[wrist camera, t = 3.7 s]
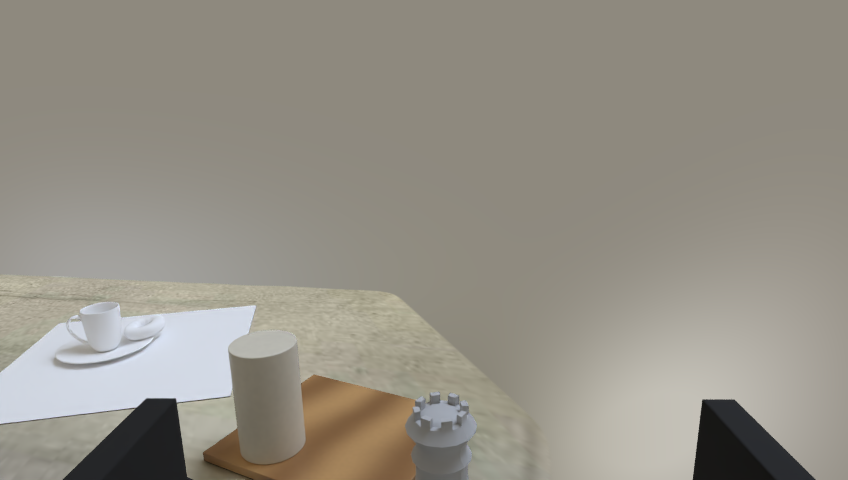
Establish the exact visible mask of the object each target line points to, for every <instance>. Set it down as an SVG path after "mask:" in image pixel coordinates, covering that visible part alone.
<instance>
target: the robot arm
mask: <svg viewBox="0 0 848 480" xmlns="http://www.w3.org/2000/svg"><path fill="white" fill-rule="evenodd" d="M63 480H187V474H186V466H185V459H184V452H183V445H182V438H181V431H180V424H179V417H178V410H177V403H176V398H146V399H145V400H144V401H143V402H142V403H141V404H140V405H139V406H138V407H137V408H136V409H135V410H134V411H133V412H132V413H131V414H130V415H129V416H128V417H127V418H125V419H124V420H123V421H122V422H121V423H120V424H119V425H118V426H117V427H116V428H115V429H114V430H113V431H112V432H111V433H110V434H109V435H108V436H107V437H106V438H105V439H104V440H103V441H102V442H101V443H100V444H99V445H98V446H97V447H96V448H95V449H94V450H93V451H92V452H91V453H90V454H89V455H87V456H86V457H85V458H84V459H83V460H82V461H81V462H80V463H79V464H78V465H77V466H76V467H75V468H74V469H73V470H72V471H71V472H70V473H69V474H68V475H67V476H66V477H65V478H64V479H63ZM693 480H815V479H814V478H813V477H812V476H811V475H810V474H809V473H808V472H807V471H806V470H805V469H804V468H803V467H802V466H801V465H800V464H799V463H798V462H797V461H796V460H795V459H794V458H793V457H792V456H791V455H790V454H789V453H788V452H787V451H786V450H785V449H784V448H783V447H782V446H781V445H780V444H779V443H778V442H777V441H776V440H775V439H774V438H773V437H772V436H771V435H770V434H769V433H768V432H766V430H765V429H764V428H763V427H762V426H761V425H760V424H759V423H757V422H756V420H755V419H754V418H753V417H752V416H750V415H749V414H748V413H747V412H746V411H745V410H744V409H743V408H742V407H741V406H740V405H739V404H738V403H737V402H736V401H735V400H702V408H701V416H700V424H699V433H698V442H697V449H696V458H695V466H694V474H693Z"/></svg>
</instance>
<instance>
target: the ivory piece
mask: <svg viewBox="0 0 848 480" xmlns="http://www.w3.org/2000/svg"><path fill="white" fill-rule="evenodd" d="M228 354H229V362H230V370H231V379H232V387H233V395H234V403H235V411H236V420H237V428H238V436H239V444H240V453H241V455H242V457H243V458H244V459H245V460H246V461H248V462H250V463H254V464H261V465H267V464H274V463H278V462H282V461H285V460H287V459H289V458H291V457H293V456H294V455H296V454H297V453H298V452H299V451H300V450H301V449H302V448H303V446H304V444H305V440H306V437H305V426H304V414H303V403H302V391H301V380H300V368H299V357H298V346H297V338H296V336H295V335H294V334H292V333H290V332H288V331H283V330H264V331H257V332H253V333H249V334H246V335H243V336H241V337H239V338H237V339H235V340H234V341H233V342H232V343H231V344H230V345H229V347H228Z"/></svg>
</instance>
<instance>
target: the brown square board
mask: <svg viewBox="0 0 848 480" xmlns="http://www.w3.org/2000/svg"><path fill="white" fill-rule="evenodd" d="M301 391H302V403H303V414H304V426H305V437H306V440H305V444H304V446H303V448H302V449H301V450H300V451H299V452H298V453H297V454H296V455H294V456H293V457H291V458H289V459H287V460H285V461H282V462H278V463H274V464H267V465H261V464H254V463H250V462H248V461H246V460H245V459H244V458H243V457H242V455H241V453H240V444H239V436H238V428H237V429H236V430H234V431H233V432H232V433H230V434H229V435H227V436H226V437H225V438H223V439H222V440H220V441H219V442H217V443H216V444H215V445H213V446H212V447H210V448H209V449H207V450H206V451H205V452H203V455H204V460H205V461H207V462H209V463H212V464H215V465H217V466H220V467H222V468H225V469H228V470H230V471H233V472H235V473H238V474H241V475H243V476H246V477H248V478H251V479H254V480H415V476H416V465H415V464H414V463H413V461H412V457H411V453H412V450H413V447H414V446H415V445H416V443H415V442H414V441H413V440H412V439H411V438H410V437H409V436H408V435H407V432H406V428H405V424H406V422H407V419H408V418H409V416H410V415H411V414H412V413H413V407H415V401H416V400H413V399H409V398H405V397H401V396H398V395H394V394H390V393H386V392H382V391H378V390H374V389H370V388H366V387H362V386H358V385H354V384H350V383H346V382H342V381H338V380H334V379H330V378H326V377H322V376H318V375H313V376H311V377H310V378H308V379H307V380H305V381H304V382H303V383H301Z"/></svg>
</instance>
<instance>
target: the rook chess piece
mask: <svg viewBox="0 0 848 480" xmlns="http://www.w3.org/2000/svg"><path fill="white" fill-rule="evenodd" d="M476 427H477V424H476V422H475V420H474V418H473V416H472V415H471V414H470V413H469V408H468V404H467V402H466V400H464V401H460V405H459V395H456V394H453V393H449V395H448V401H441V400H440V392H434V393H430V402H428V403H425V398H423V397H422V396H421V397H419V398H418V399H417V400H416V401H415V407H413V413H412V414H411V415H410V416H409V418H408V419H407V422H406V424H405V428H406V432H407V435H408V436H409V437H410V438H411V439H412V440H413V441H414V442H415V443H416V445H415V446H414V447H413V450H412V453H411V457H412V461H413V463H414V464H415V465H416V476H415V480H469V478H468V463H469V462H470V461H471V456H472V452H471V450H470V448H469V446H468V445H467V442H468V441H469V440H470V438H471V437H472V436H473V435H474V434H475V432H476Z"/></svg>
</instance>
